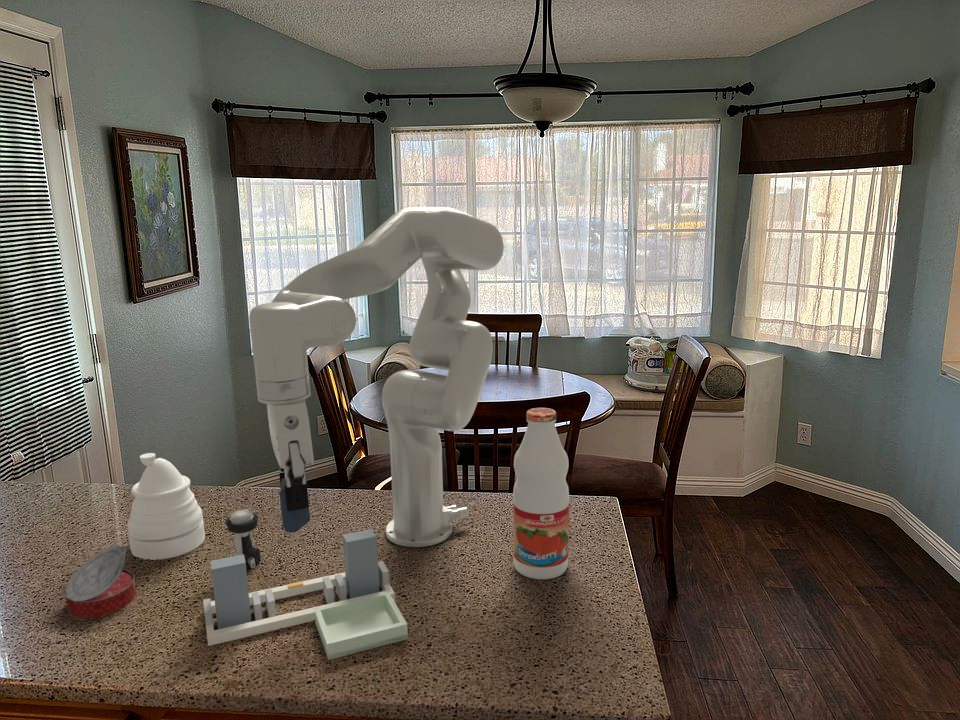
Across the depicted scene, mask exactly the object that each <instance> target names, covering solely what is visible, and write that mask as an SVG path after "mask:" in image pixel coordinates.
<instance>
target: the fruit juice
mask: <svg viewBox="0 0 960 720" xmlns="http://www.w3.org/2000/svg"><path fill="white" fill-rule="evenodd" d="M526 422H527V423H528V424H527V427H526V429H525V433H524V436H523V438H522V441H521V443H520V446H519V448H518V449H517V450H516V453H515V454H514V456H513V457H514V459H513V468H514V472H515V476H516V480H515V483H514V486H513V490H512V491H513V492H512V515H513V517H512V521H513V522H512V523H513V526H512V528H513V530H512V531H513V532H512V533H513V535H512V537H513V538H512V539H513V540H512V542H513V547H512V549H513V554H512V557H513V565H514V566H513V567H514V568H515V570H516V571H517V573H519V575H522V576H523V577H526V578H529V579H534V580H551V579H555V578H558V577H559V576H561V575H563V574H564V573H565V572H566V571H567V568H568V566H569V565H568V564H569V527H570V526H569V525H570V520H569V519H570V516H569V515H570V511H569V510H570V492H569V491H570V490H569V489H570V488H569V485H568V483H567V480H566V478H567V474H568V471H569V466H570V465H569V457H568V454H567V452H566V450H565V449H564V447H563V445H562V442H561V439H560V436H559V434H558V431H557V428H556V425H555V423H556V422H557V412H556V410H554V409H553V408H548V407H534V408H530V409H528V410H527V411H526Z"/></svg>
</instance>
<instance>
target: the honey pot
mask: <svg viewBox="0 0 960 720" xmlns="http://www.w3.org/2000/svg"><path fill="white" fill-rule="evenodd" d="M139 459H140V462H141V463H142V465H144V466H146V468H145V469H144V471H143V472H142V475H141V478H140V479H139V481H138V482H136V483H135V484H134V485H133V486H132V487H131V491H130V493H131V495H132V496H133V497H134V498H133V502H132V504H131V507H130V508H131V510H130V513H129V518H128V522H127V532H128V539H129V548H130V553H131V554H132V555H133V556H134V557H135V558H137V557H139V558H138V559H141V558H143V559H142V560H147V559H150V560H152V561H155V560H156V561H157V559H158V560H166V559H167V560H168V559H171V558H176V557H179V556H182V555H185V554H187V553H190V552H192V551H193V550H196V549H197V548H199V547H200V546H201V545H202V544H203V543H204V541H205V538H206V534H205V533H206V532H205V525H204V517H203V510H202V508H201V507H200V505H198V501H197V500H196V498H195V494H194V492H192V490H191V489H190V486H191V479H190V478H189V477H188V476H186V475H184V474H183V475H182V474H181V473H180V472H179V470H178V469H177V468H176V467H175V466H174V464H173V463H171V462H170V461H168V459H165V458H162V457H158V458H156V453H154V452H147V453H143V454H141V455H139Z"/></svg>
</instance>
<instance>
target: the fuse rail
mask: <svg viewBox="0 0 960 720" xmlns="http://www.w3.org/2000/svg"><path fill="white" fill-rule="evenodd" d="M377 538H378V537H377V535H376V533H375V532H374V530H373V528H369V529H363V530H360V531H355V532H350V533H344V534H342V541H343V542H342V543H343V547H342V548H343V560H344V561H343V562H344V572H339V573H335V574H330V575H325V576H322V577H321V576H320V577H317V578H311V579H307V580H302V581H301V580H300V581H296V582H293V583H292V582H291V583H288V584H285V585H281V586H276V587H270V588H266V589H262V590H256V591H252V592H249V583H248V572H247V571H248V570H247V571H246V562H245V558H244V554H243V555H237V556H236V555H234V556H228V557H223V558H218V559H213V560H210V561H209V563H210V571H211V572H210V573H211V576H212V577H211V579H212V589H213V597H214V600H211V598H210V597H209V598H204V599H202V603H203V610H204V612H203V613H204V620H205V621H204V623H205V629H206V630H205V631H206V638H207V647H210V646H215V645H218V644H222V643H226V642H231V641H235V640H239V639H244V638H247V637H251V636H256V635H260V634H264V633H268V632H273V631H276V630H281V628H282V629H286V628H289V627H293V626H297V625H301V624H302V625H303V624H307V623H310V622H315V621H314V620H315V615H314V609H315V608H319V607H323V606H328V605H332V604H336V603H341V602H345V601H349V600H353V599H358V598H362V597H366V596H371V595H375V594H379V593H383V592H388V591H389V593H390V595H391V596H392V598H393V600H394V602H396V593H395V591H394V590H393V587H392V586H391V583H390V571H389V569H388V567H387V566H386V564H385V562H384V560H381V561H379V557H378V541H377V540H378V539H377ZM334 589H335V591H334ZM380 589H381V591H380ZM321 590H323V596H324V598H325V602H326V604H322V605H319V606H318V605H317V606H313V607H310V608H305V609H300V610H297V611H291V612H288V613H283V614H279V615H278V614H277V613H276V612H277V611H276V600H281V599H286V598H290V597H295V596H298V595H303V594H308V593H311V592H316V591H321ZM335 592H336V593H335ZM335 594H336V595H337V597H338V601H335ZM348 597H349V598H348ZM262 603H263V604H264V603H265V604H266V607H265V608H266V611H267V614H268V617H266V618H263V611H262V610H263V609H262ZM251 606H252V611H253V615H254V620H252V613H251ZM213 614H215V615H216V617H215V618H216V623H217V629H214V621H213Z"/></svg>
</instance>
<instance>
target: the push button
mask: <svg viewBox="0 0 960 720" xmlns="http://www.w3.org/2000/svg"><path fill="white" fill-rule="evenodd" d="M258 521H259V516H258V514H256V513H254V512H253V511H252V510H251V509H248V508H247V509H239V510H235V511H232V512H231V514H230V516H228V517H227V518H226V519H225V525H226V527H227V531H228V532H230V533H232V534H233V535H234V545H235V549H234V550H235V556H237V555H243V554H244V558H245V562H246V571H248V570H249V569H253V568H255V566H256V564H259V563H260V562H261V552H260V551H261V549H260V548H258V547H255V544H254V538H253V530H255V529H256V528H257V527H258Z"/></svg>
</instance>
